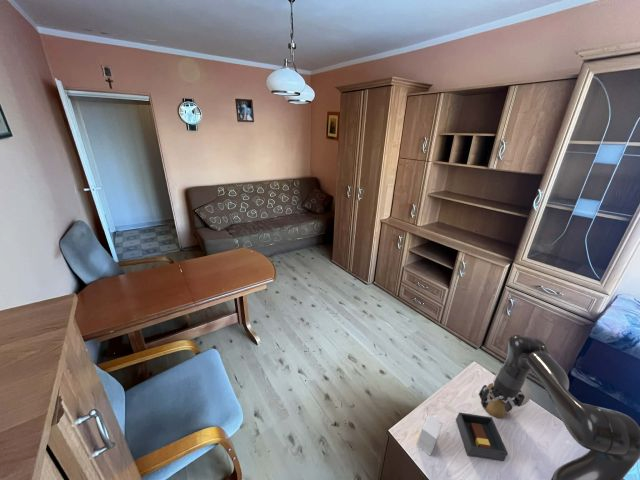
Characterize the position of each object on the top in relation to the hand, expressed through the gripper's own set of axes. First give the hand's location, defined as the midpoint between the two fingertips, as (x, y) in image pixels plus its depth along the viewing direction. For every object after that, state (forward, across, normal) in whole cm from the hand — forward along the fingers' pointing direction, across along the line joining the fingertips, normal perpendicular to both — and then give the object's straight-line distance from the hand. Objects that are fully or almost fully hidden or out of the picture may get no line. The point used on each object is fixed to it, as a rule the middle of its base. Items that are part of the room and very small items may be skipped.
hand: (494, 407), depth 103 cm
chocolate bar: (+26, +3, +3) cm, 27 cm away
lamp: (+28, +18, +19) cm, 38 cm away
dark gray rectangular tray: (+28, +3, +4) cm, 28 cm away
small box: (+28, -21, -2) cm, 35 cm away
